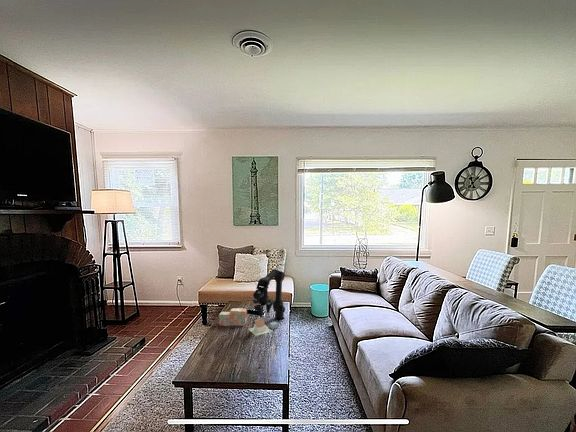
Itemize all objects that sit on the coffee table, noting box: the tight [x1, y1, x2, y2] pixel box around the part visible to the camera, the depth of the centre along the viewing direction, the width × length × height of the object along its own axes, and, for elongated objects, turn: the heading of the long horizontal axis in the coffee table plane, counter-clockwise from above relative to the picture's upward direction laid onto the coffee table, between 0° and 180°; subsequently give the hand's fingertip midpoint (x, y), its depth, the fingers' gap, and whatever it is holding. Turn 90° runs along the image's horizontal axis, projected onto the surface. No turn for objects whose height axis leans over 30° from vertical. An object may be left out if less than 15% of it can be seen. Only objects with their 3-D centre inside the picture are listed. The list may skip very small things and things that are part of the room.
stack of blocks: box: [218, 307, 248, 327], centre depth 221 cm, size 21×6×12 cm, turn 85°
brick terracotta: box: [255, 317, 265, 327], centre depth 209 cm, size 5×5×4 cm
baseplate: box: [248, 325, 273, 337], centre depth 209 cm, size 14×14×1 cm
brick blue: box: [269, 321, 279, 330], centre depth 213 cm, size 5×5×4 cm
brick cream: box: [253, 323, 267, 333], centre depth 209 cm, size 7×7×4 cm
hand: (264, 315), depth 210 cm, fingers open, 9 cm apart
